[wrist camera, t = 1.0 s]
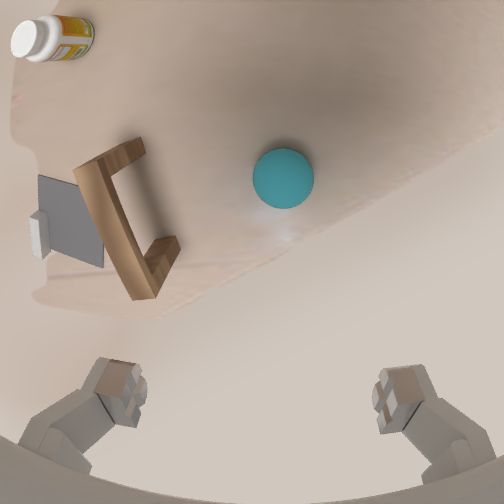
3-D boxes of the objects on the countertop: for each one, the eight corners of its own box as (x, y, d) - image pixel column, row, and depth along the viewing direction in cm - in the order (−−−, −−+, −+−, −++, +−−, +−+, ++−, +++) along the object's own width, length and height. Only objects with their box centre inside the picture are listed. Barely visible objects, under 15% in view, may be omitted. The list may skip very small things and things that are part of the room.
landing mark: (38, 174, 35) (37, 175, 34) (106, 193, 36) (105, 194, 35) (42, 244, 41) (41, 245, 41) (103, 267, 42) (102, 268, 42)
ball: (264, 135, 31) (261, 147, 26) (318, 154, 31) (326, 169, 26) (248, 186, 34) (242, 207, 29) (299, 202, 34) (302, 226, 29)
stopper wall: (38, 209, 38) (28, 217, 35) (48, 212, 38) (38, 220, 36) (41, 247, 41) (33, 256, 39) (50, 251, 41) (42, 259, 39)
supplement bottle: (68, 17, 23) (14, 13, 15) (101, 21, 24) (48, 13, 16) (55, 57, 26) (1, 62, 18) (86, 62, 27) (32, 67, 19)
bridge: (140, 136, 32) (96, 160, 23) (180, 249, 39) (155, 298, 31) (119, 144, 32) (72, 170, 24) (160, 253, 40) (132, 300, 31)
